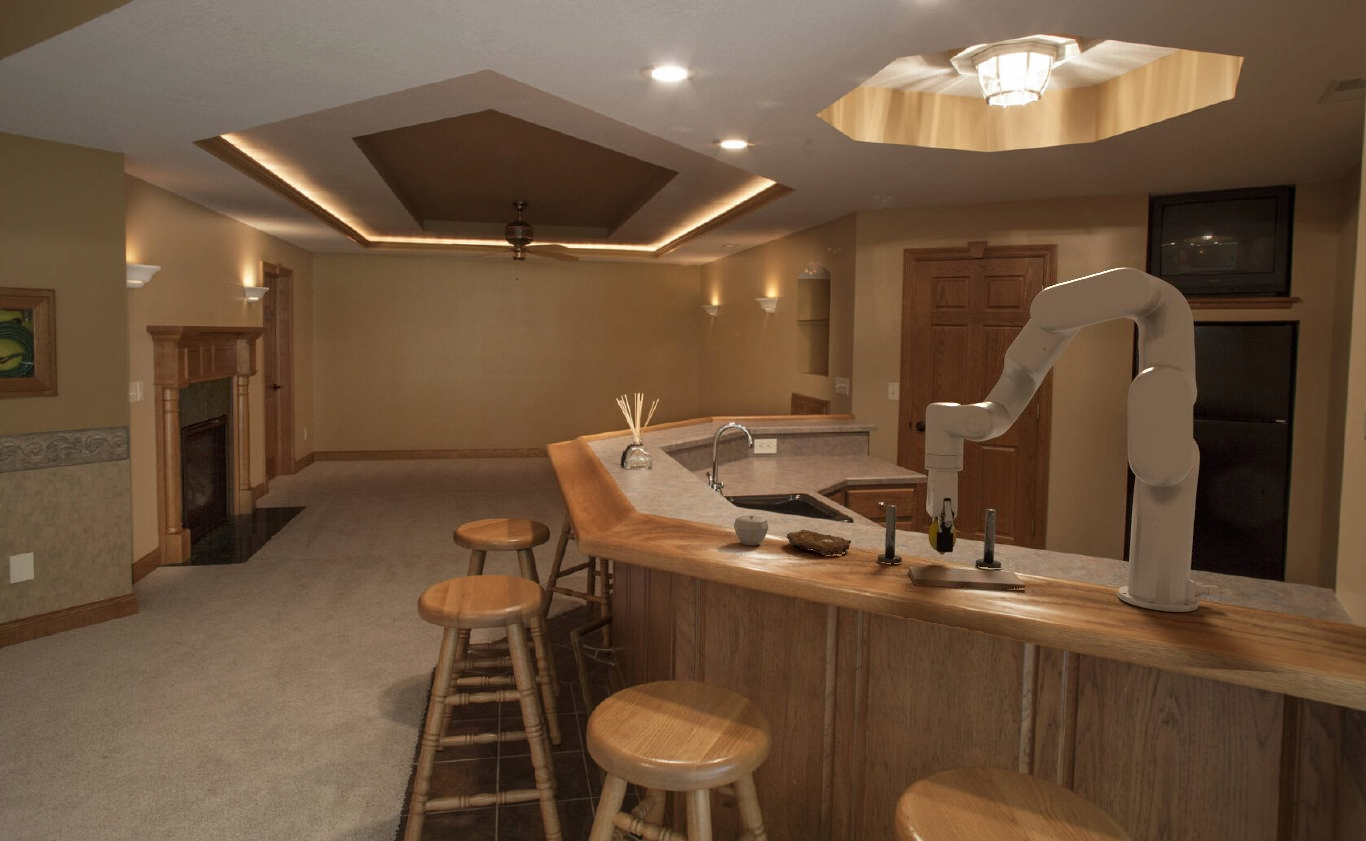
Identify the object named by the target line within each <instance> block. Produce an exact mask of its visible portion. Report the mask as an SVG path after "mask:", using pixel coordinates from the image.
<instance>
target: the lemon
mask: <svg viewBox="0 0 1366 841" xmlns="http://www.w3.org/2000/svg"><path fill="white" fill-rule="evenodd" d="M943 522H944V521H942V523H943ZM937 532H938V519H937V520H935V521H934V522H933V523H931V525H930V527H929V530H928V535H927V536H928V537H927V538H928V542H929V545H930V547H931V548H932V549H933V550H935V551H937V550H936V546H937ZM956 542H957V531H956V527H955V525H954V524H953V548H954V547H955V545H956ZM946 553H947V552H938V554H940V555H945V554H946Z"/></svg>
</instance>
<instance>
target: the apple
mask: <svg viewBox="0 0 1366 841" xmlns="http://www.w3.org/2000/svg"><path fill="white" fill-rule="evenodd" d="M733 528H734V531H735V536H736V537H737V538H738V541H740V542H741V544H743V545H745V546H758V545H759V544H761V543H762V542H763V541H764V539H765V538H766V536H767V533H768V530H769V523H768V521H767V519H766V518H764V517H763V516H759V515H751V514H750V515H741V516H738V517H736V518H735V521H734V524H733Z"/></svg>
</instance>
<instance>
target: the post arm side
mask: <svg viewBox="0 0 1366 841" xmlns="http://www.w3.org/2000/svg"><path fill="white" fill-rule="evenodd" d="M996 519H997V509H994V508H993V509H992V508H987V509H985V520H984V522H985V523H984V539H983V540H984V543H983V558H981V559H980V558H979V559H976V560H975V567H976V566H979V567H988V568H1001V569H1002V562H1001V561H998V560H995V559H994V558H995V543H996V541H995V540H996V521H997V520H996Z"/></svg>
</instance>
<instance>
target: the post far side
mask: <svg viewBox="0 0 1366 841" xmlns="http://www.w3.org/2000/svg"><path fill="white" fill-rule="evenodd" d="M885 512H886V517H885V542H884V544H885V547H884V554H883V553H882V554H879V555H877V560H878V561H879V562H885V563H891V564H894V563H900V562H902V563H903V558H902V556H900V555H896V532H897V531H896V530H897V505H894V504H891V505H890V504H887V505H886V511H885ZM878 561H877V562H878ZM879 562H878V563H879Z"/></svg>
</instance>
